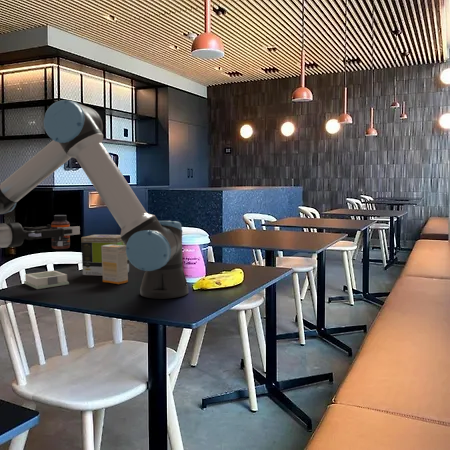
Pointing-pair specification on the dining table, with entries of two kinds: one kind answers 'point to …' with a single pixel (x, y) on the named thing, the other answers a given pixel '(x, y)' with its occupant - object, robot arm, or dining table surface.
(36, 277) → the shallow beige box
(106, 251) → the supplement box
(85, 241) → the tea box
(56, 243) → the supplement bottle
